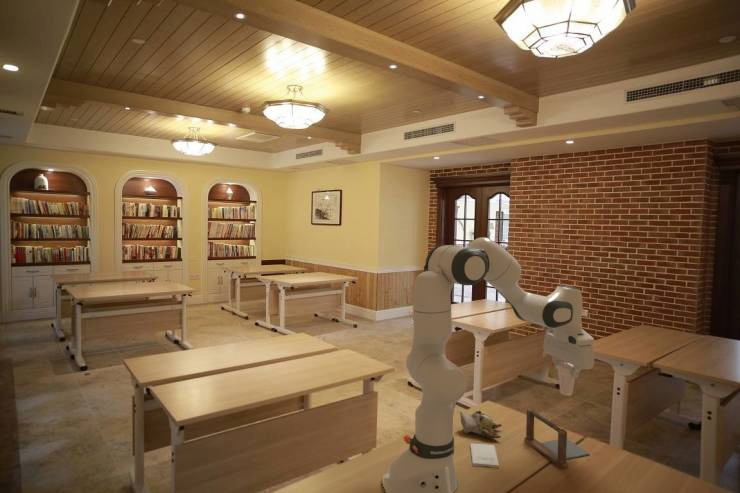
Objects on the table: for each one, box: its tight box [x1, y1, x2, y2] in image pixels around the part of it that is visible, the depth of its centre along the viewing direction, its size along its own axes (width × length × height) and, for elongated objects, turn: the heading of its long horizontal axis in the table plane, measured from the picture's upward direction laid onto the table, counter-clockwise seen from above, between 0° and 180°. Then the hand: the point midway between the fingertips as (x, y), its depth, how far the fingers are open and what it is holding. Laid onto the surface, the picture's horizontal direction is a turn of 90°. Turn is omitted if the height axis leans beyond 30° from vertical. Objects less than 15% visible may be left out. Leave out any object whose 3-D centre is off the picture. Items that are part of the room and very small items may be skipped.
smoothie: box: [557, 362, 576, 397], centre depth 151 cm, size 6×6×14 cm
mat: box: [540, 438, 591, 461], centre depth 153 cm, size 11×11×1 cm
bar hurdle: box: [524, 408, 569, 469], centre depth 151 cm, size 3×18×12 cm, turn 17°
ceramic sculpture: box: [460, 410, 502, 439], centre depth 164 cm, size 11×9×15 cm
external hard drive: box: [469, 442, 500, 469], centre depth 149 cm, size 2×8×12 cm
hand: (566, 373), depth 151 cm, fingers closed on smoothie, 6 cm apart
